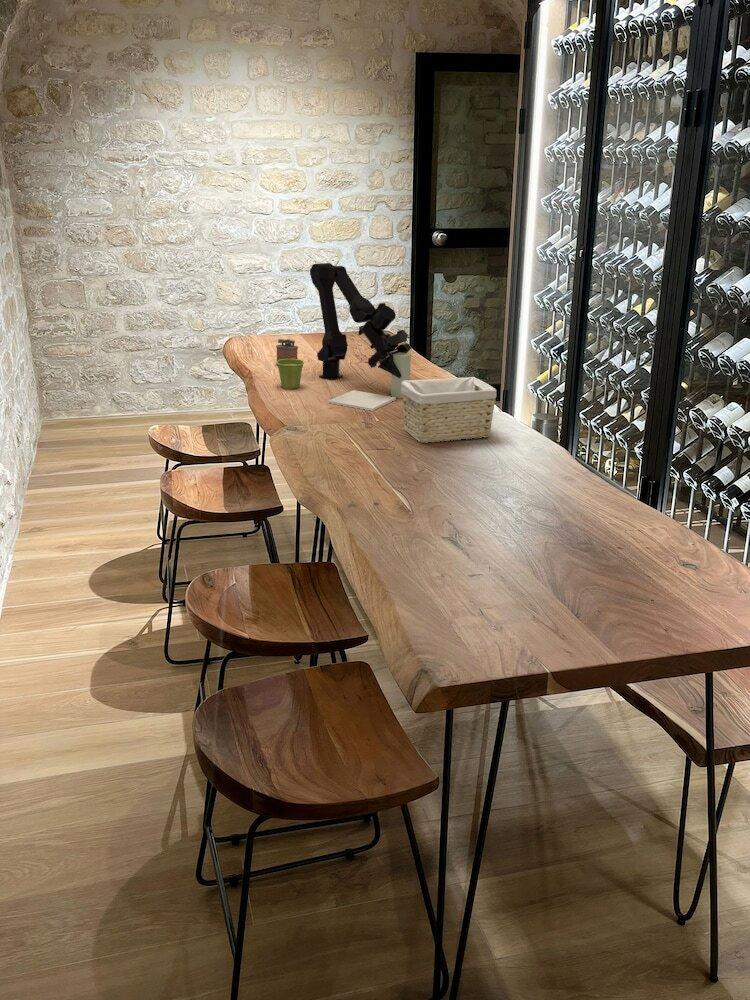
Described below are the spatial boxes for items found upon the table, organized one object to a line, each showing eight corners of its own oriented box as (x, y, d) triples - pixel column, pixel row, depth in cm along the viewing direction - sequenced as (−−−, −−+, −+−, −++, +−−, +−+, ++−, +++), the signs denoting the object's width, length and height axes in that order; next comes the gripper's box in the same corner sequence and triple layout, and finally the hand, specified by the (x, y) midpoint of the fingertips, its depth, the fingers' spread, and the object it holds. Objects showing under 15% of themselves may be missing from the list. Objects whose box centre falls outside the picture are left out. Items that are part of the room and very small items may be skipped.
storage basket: (416, 445, 240) (419, 393, 234) (396, 428, 254) (399, 379, 248) (495, 440, 247) (499, 389, 241) (471, 423, 261) (475, 375, 256)
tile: (353, 392, 290) (353, 390, 289) (395, 399, 283) (395, 397, 282) (328, 403, 276) (328, 400, 276) (372, 411, 270) (372, 408, 269)
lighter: (298, 365, 323) (298, 338, 320) (297, 367, 320) (297, 340, 316) (277, 364, 324) (277, 337, 320) (275, 366, 321) (275, 339, 317)
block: (396, 393, 290) (398, 352, 285) (409, 395, 288) (410, 354, 283) (390, 396, 286) (392, 354, 281) (402, 398, 284) (404, 356, 279)
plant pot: (300, 391, 289) (300, 365, 285) (272, 389, 290) (272, 363, 287) (307, 384, 297) (307, 359, 294) (281, 382, 299) (281, 357, 296)
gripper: (377, 326, 273) (405, 366, 272) (407, 318, 288) (434, 356, 286) (355, 347, 280) (383, 386, 279) (386, 339, 295) (413, 376, 293)
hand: (404, 375), depth 284 cm, fingers closed on block, 5 cm apart
